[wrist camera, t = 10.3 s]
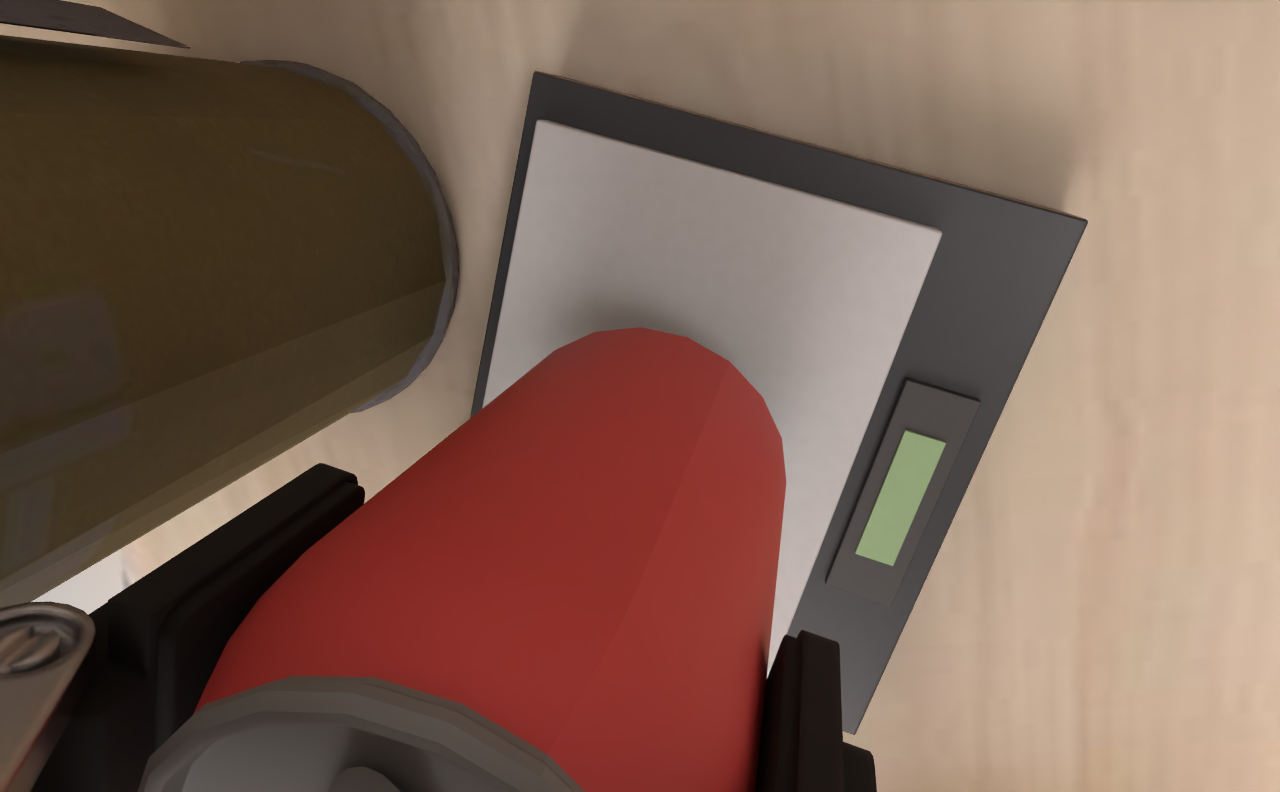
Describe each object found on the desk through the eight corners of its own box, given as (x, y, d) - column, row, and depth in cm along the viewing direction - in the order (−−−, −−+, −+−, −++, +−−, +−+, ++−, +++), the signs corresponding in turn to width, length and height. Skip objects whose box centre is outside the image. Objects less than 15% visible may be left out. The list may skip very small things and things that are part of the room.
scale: (559, 76, 20) (524, 68, 18) (1063, 211, 19) (1098, 223, 16) (466, 553, 26) (429, 597, 23) (852, 690, 24) (855, 751, 22)
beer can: (797, 329, 17) (750, 714, 6) (778, 596, 19) (716, 1263, 8) (507, 312, 18) (3, 596, 7) (518, 564, 20) (146, 1093, 9)
